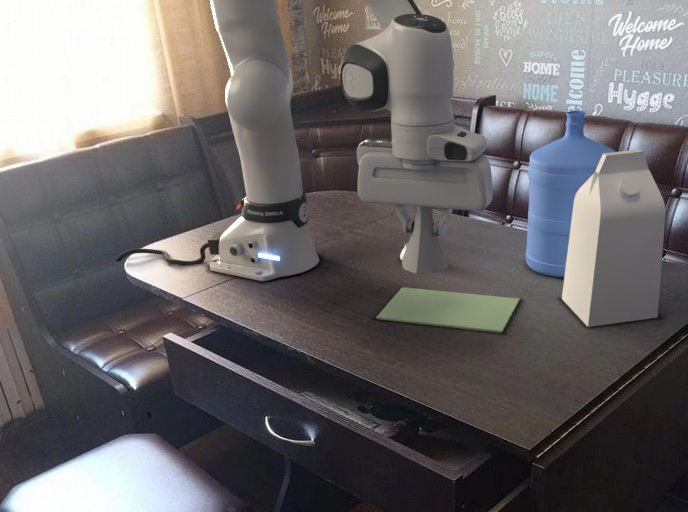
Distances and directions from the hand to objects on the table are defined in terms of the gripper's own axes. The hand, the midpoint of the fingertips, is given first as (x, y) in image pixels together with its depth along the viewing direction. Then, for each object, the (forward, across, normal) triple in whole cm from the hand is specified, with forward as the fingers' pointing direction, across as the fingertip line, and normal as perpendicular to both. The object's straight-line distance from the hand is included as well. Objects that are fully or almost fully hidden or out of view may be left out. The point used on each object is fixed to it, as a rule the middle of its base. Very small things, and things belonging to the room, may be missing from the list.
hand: (424, 233), depth 117 cm
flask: (+6, 0, 0) cm, 6 cm away
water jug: (+17, +16, +36) cm, 43 cm away
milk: (+17, +26, +18) cm, 36 cm away
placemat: (+17, +1, +10) cm, 20 cm away
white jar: (+18, -14, +31) cm, 38 cm away
